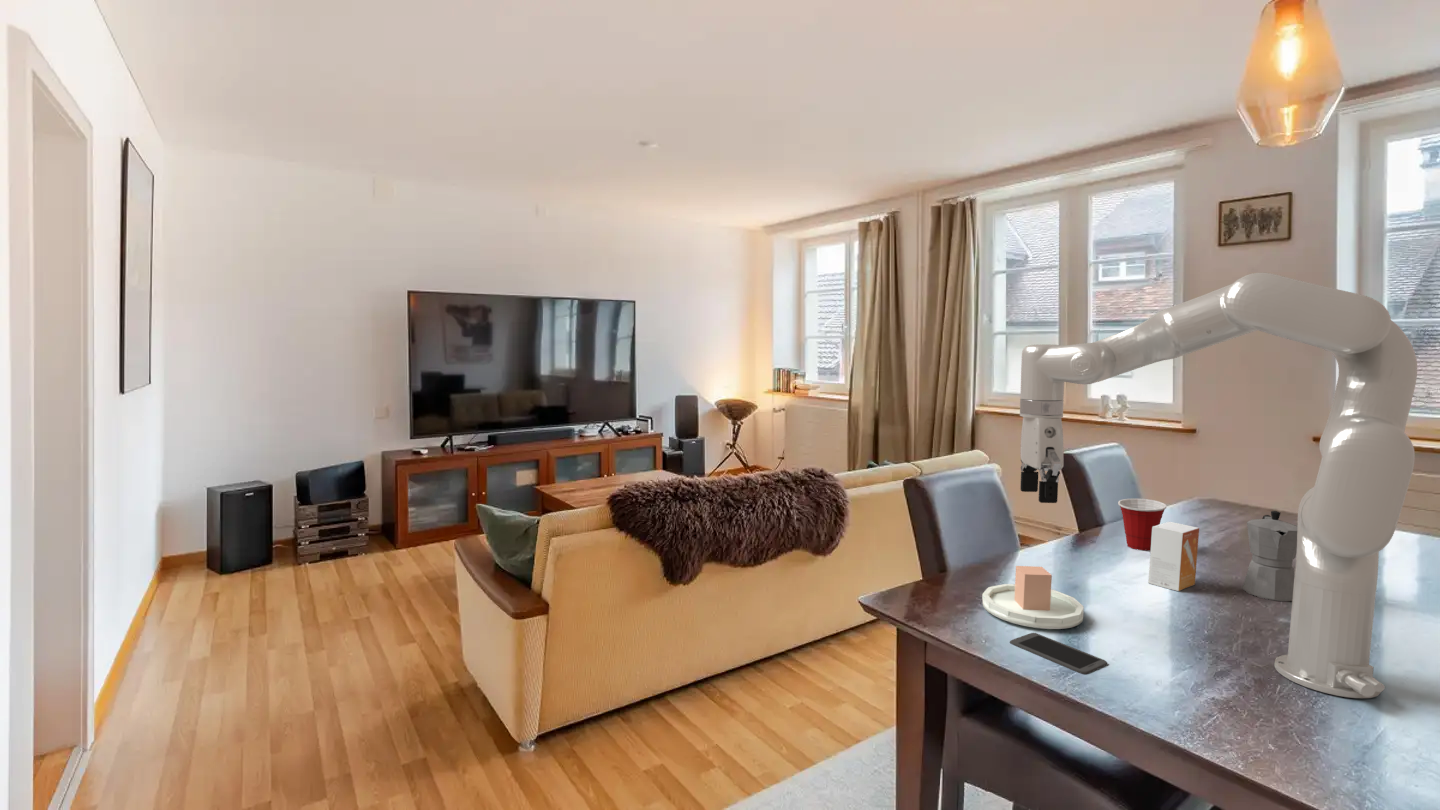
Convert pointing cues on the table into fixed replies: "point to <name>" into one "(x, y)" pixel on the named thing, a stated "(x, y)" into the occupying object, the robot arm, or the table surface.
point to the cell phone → (1059, 653)
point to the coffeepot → (1271, 558)
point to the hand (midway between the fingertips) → (1038, 496)
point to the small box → (1173, 555)
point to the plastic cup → (1140, 521)
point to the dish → (1059, 616)
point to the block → (1033, 588)
